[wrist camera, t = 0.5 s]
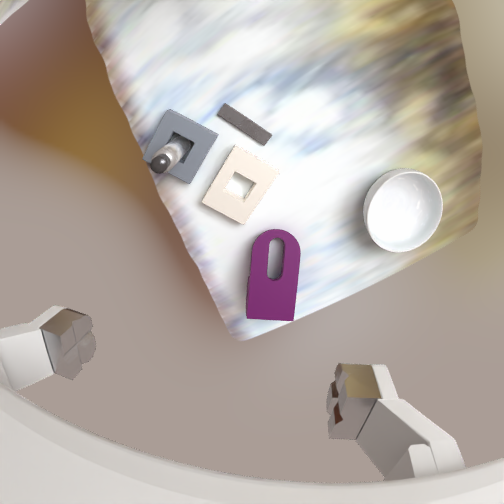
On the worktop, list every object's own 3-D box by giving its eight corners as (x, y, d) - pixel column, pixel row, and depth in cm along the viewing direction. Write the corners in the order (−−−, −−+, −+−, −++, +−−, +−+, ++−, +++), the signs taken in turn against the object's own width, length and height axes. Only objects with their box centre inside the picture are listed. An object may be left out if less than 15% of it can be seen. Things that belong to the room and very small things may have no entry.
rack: (235, 144, 52) (235, 146, 50) (278, 169, 55) (279, 172, 53) (203, 197, 57) (201, 202, 55) (244, 219, 60) (243, 225, 58)
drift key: (217, 113, 50) (217, 114, 49) (225, 103, 49) (225, 103, 48) (263, 144, 53) (264, 145, 52) (271, 134, 52) (272, 135, 51)
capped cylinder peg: (177, 132, 51) (153, 148, 38) (193, 141, 52) (174, 160, 39) (168, 148, 52) (143, 170, 39) (184, 157, 53) (164, 181, 40)
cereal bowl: (416, 150, 52) (434, 159, 46) (432, 218, 60) (447, 233, 54) (344, 180, 56) (356, 192, 50) (367, 248, 63) (378, 265, 57)
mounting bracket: (252, 227, 67) (245, 307, 69) (254, 227, 59) (246, 318, 60) (294, 231, 68) (286, 310, 69) (302, 231, 59) (293, 321, 61)
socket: (170, 109, 49) (166, 110, 46) (218, 134, 51) (217, 136, 49) (146, 156, 53) (142, 159, 51) (192, 180, 56) (189, 184, 53)
